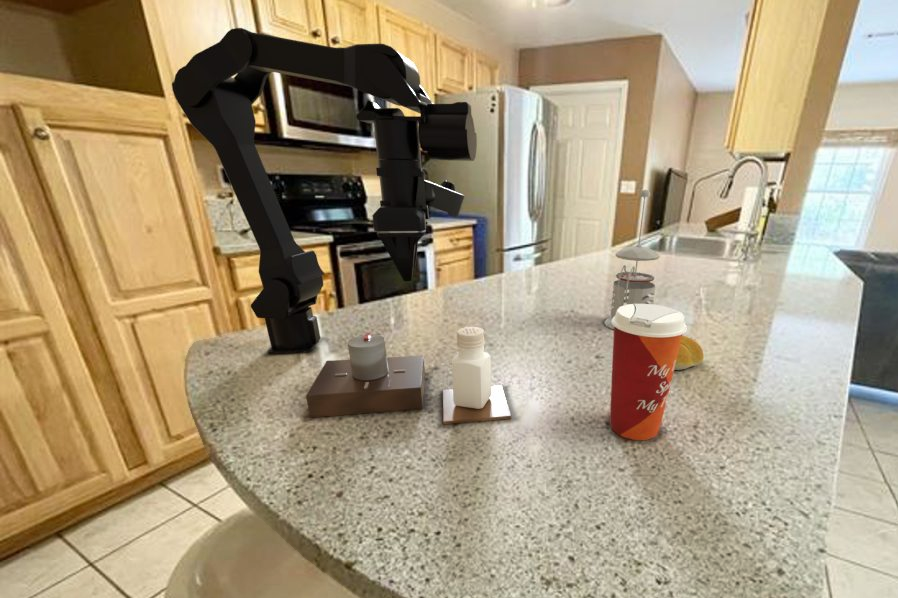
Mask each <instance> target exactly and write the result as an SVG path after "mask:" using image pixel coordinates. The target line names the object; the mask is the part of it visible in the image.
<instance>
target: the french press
mask: <svg viewBox="0 0 898 598" xmlns="http://www.w3.org/2000/svg"><path fill="white" fill-rule="evenodd" d="M638 196H639V197H641V198H643V202H642V212H641V220H640V228H639V236H638V244H636V245H631V246H627V247H623V248H621V249H620V250H618V251H617V252H616V253H615V257H616V258H618V259H621V260H626V261H634V262H635V261H636V262H635V266H634V265H633V266H632V267H631V268H630V271H627V266H626V265H625V264H624V265H623V266H622V268H621V270H620V272H618V273H616V275H615V277H616V278H617V280H614V282H613V283H612V284H613V286H612V289H613V290H612V296H611V304H610V308H611V309H610V316H609V317H608V318H606V320H605V321H604V325H605V326H606V327H607V328H609V329H611V330H614V326H613V324H612V322H611V320H612V319H613V317H614V316H615V315H616V311H617V309H618V308H619V307H621V306H623V305H625V303H626V305H628V304H653V305H654V303H653V302H654V295H655V293H656V292H655V291H656V284H655V283H654V280H655V276H654V275H653V274H650V273H646V272H637V270H638V262H649V261H656V260H658V259H659V258H660V257H661V255H660V254H659V253H658V252H656V250H653V249H651V248H649V247H648V246H643V245H641V236H642V227H643V220H644V219H643V218H644V210H645V204H646V203H645V202H646V198H650V197H651V192H650V191H649V190H648V189H643V190H641V191H639V195H638ZM623 270H624V271H623ZM649 295H651V296H649Z"/></svg>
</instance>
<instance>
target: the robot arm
mask: <svg viewBox="0 0 898 598" xmlns="http://www.w3.org/2000/svg"><path fill="white" fill-rule="evenodd" d="M271 73H275V74H276V73H277V74H282V75H287V76H292V77H298V78H303V79H308V80H313V81H317V82H318V81H319V82H324V83H331V84H334V85H340V86H345V87H350V88H353V89H355V90H357V91H360V92H363V93H365V94H368V95H370V96H373V97H376V98H378V99H380V100H383V101H385V102H388V103H390V104H393V105H395V106H398V107H380V106H379V105H378V104H377V103H376V102H374V101H371V100H367V101H366V103H365V105H364V107H362V108H361V109H360V111H358V112H357V113H356V115H355V118H356V120H357V121H359V122H363V123H367V124H373V131H374V139H375V149H376V150H375V151H376V158H377V167H375V170H376V176H377V177H379V186H380V195H381V200H380V201H379V205H380V206H379V207H378V208H377V210H375V212H374V213H373V214H372V216H371V217H372V223H373V231H374V232H376V235H377V237H378V238H379V240H380V241H381V244H382V245H383V247H384V248H385V250H386V252H387V253H388V255H389V256H390V258H391V260H392V262H393V264H394V266H395V268H396V269H397V272H398V273H399V275H400V278H401V279H402V281H403V282H412V281H413V275H414V274H413V272H414V268H416V264H417V255H418V248H419V241H420V240H421V239H422V238H423V237H424V236H425V234H426V229H427V225H428V223H429V218H430V217H429V207H432V208H434V209H437V210H439V211H442V212H445V213H447V214H448V215H449V216H451V217H454V218H459V216H460V212H461V209H462V206H463V202H464V199H465V194H462V193H461V192H457V191H456V188H455V184H454V183H453V182H450V181H448V180H443V181H442V182H441V183H440V184H438V183H434V182H432V181H430V180H426V173H425V171H424V170H423V168H422V155H421V154H422V153H421V150H422V152H423V153H427V155H428V157H429V160H431V161H442V162H443V161H444V162H445V161H448V162H451V161H452V162H474V161H475V159H476V156H477V149H478V148H477V147H478V146H477V145H478V144H477V143H478V141H477V138H478V135H477V132H476V131H475V122H474V117H473V115H472V105H471V104H470V103H469V102H467V101H456V102H453V103H433V101H432V99H431V98H430V97H429V96H428V94H427V93H426V91H425V90H424V88H423V87H422V85H421V77H420V73H419V70H418V68H417V66H416V65H415V64H414V62H413V61H411V60H410V59H409V58H408V57H406V56H404V55H403V53H400V52H399V51H398V50H396V49H394V48H393V47H392V46H391V45H387V44H386V43H356V44H353V45H349V46H346V47H345V46H343V47H334V46H329V45H324V44H323V45H322V44H317V43H313V42H312V43H311V42H308V41H307V42H306V41H301V40H296V39H291V38H286V37H285V38H284V37H279V36H274V35H268V34H264V33H263V34H262V33H258V32H253V31H251V30H248V29H246V28H243V27H236V28H231V29H229V30H228V31H227V32H226V33H225V34H224V36H223V37H222V38H221V40H219V41H218V42H216V43H214V44H212V45H211V46H209V47H207V48H205V49H203V50H201V51H200V52H197V53H195V54H193V56H192V57H191V59H190V60H189V61H188V62H187V63H186V64H185V65H184V66H182V67H181V68H179V69H178V70H177V72H176V73H175V76H174V80H173V81H172V82H171V88H172V92H173V96H174V98H175V100H176V103H177V104H178V105H179V107H180V108H181V111H182V113H184V115H185V116H186V118H187V120H188V121H189V123H190V125H191V126H192V127H193V128H194V129H195V130H196V131H198V133H199V134H200V135H201V136H202V137H203V138H204V139H205V140H206V141H207V142H208V143H209V144H210V145H211V146H212V147H213V149H214V150H215V152H216V154H217V157H218V159H219V161H220V163H221V166H222V168H223V170H224V173H225V175H226V177H227V179H228V181H229V184H230V185H231V189H232V190H233V193H234V194H235V198H236V199H237V201H238V204H239V206H240V208H241V211H242V212H243V215H244V217H245V220H246V221H247V224H248V226H249V228H250V230H251V234H252V235H253V238H254V240H255V242H256V244H257V246H258V248H259V261H258V275H259V278H260V282H261V285H262V290H261V291H260V292H259V293H258V295H257V296H256V297H255V298H254V300H253V301H252V302H251V303H250V308H251V310H252V312H253V313H254V315H255V317H256V318H257V319H264V322H265V326H266V330H267V335H268V340H269V343H270V347H269V348H268V349H267V351H266V352H267V354H269V355H272V354H273V355H274V354H275V355H276V354H291V353H292V354H293V353H294V354H295V353H309V352H312V351H313V350H314V348H315V347H316V345H317V344H318V343H319V341H320V340H321V333H320V328H319V327H320V326H319V323H318V317H317V315H314V314H313V307H311V306H314V305H316V304H317V301H318V297H319V296H318V295H319V294H320V293H321V291H322V289H323V287H324V279H323V276H324V275H325V272H324V270H323V269H322V268H321V266H320V264H319V261H318V256H317V253H316V252H315V250H313V249H311V250H308V251H306V250H304V249H303V248H302V247H301V246H300V245H299V244H298V243H297V242H296V241H295V239H294V236H293V234H292V231H291V229H290V227H289V224H288V222H287V219H286V216H285V215H284V214H285V213H284V212H283V210H282V207H281V205H280V202H279V200H278V197H277V195H276V193H275V190H274V188H273V186H272V183H271V181H270V177H269V176H268V173H267V171H266V168H265V166H264V164H263V162H262V158H261V157H260V154H259V152H258V149H257V146H256V143H255V132H256V123H257V122H256V121H257V120H256V116H255V113H254V109H253V104H254V103H255V102H256V101H257V100H258V99H259V98H260V97H261V95H262V94H263V91H264V87H265V84H266V81H267V78H268V77H269V76H270V75H271ZM399 107H402V108H406V109H408V110H410V111H413V112H416V113H418V114H419V115H420V116H417V115H415V116H414V115H413V116H412V115H407V116H406V115H405V114H404V112H403V110H402V109H401V108H399Z"/></svg>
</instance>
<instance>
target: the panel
mask: <svg viewBox="0 0 898 598" xmlns="http://www.w3.org/2000/svg"><path fill="white" fill-rule="evenodd" d="M387 363H388V373H387V374H386V375H385V376H383V377H381V378H378V379H374V380H358V379H355V378H354V377H353V375H352V369H351V363H350V359H333V360H326V361H325V363H324V364H323V366H322V368H321V370H320V371H319V373H318V374H317V376H316V378H315V380H314V381H313V383H312V385H311V386H310V388H309V390H308V391H307V393H306V395H305V398H306V403H307V407H308V412H309V417H310V418H311V419H312V418H324V417H335V416H347V415H349V416H350V415H361V414H374V413H375V414H376V413H384V412H387V413H388V412H399V411H410V410H411V411H413V410H422V409H423V408H424V396H425V395H424V394H425V382H426V381H425V380H426V369H425V368H426V367H425V356H424V355H423V354H421V355H403V356H390V357H389V356H387Z"/></svg>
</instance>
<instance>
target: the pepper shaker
mask: <svg viewBox="0 0 898 598" xmlns="http://www.w3.org/2000/svg"><path fill="white" fill-rule="evenodd" d="M456 331H457V332H456V347H457V349H458V352H457V353H456V354H455V355H454V357H453V358H452V360H451V377H452V378H451V380H452V389H453V399H454V404H455V405H457V406H462V407H469V408H476V409H481V408H483V407H484V405H485V404H486V402H487V401H488V400H489V398H490V396H491V386H492V356H491V355H490V354H489V353H488V352H487V351H485V350H484V349H485V348H484V347H485V330H484V329H483V328H481V327H479V326H478V327H477V326H465V327H461V328H459V329H457V330H456Z"/></svg>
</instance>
